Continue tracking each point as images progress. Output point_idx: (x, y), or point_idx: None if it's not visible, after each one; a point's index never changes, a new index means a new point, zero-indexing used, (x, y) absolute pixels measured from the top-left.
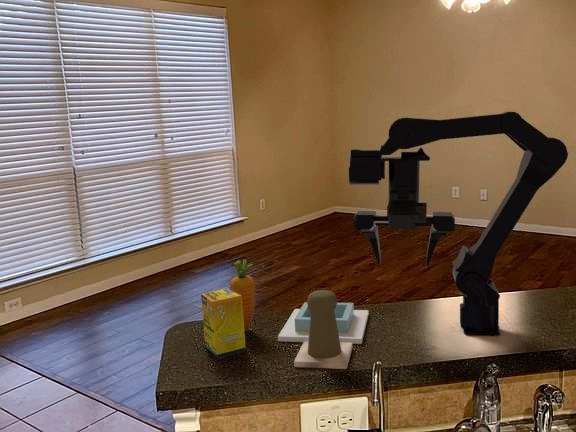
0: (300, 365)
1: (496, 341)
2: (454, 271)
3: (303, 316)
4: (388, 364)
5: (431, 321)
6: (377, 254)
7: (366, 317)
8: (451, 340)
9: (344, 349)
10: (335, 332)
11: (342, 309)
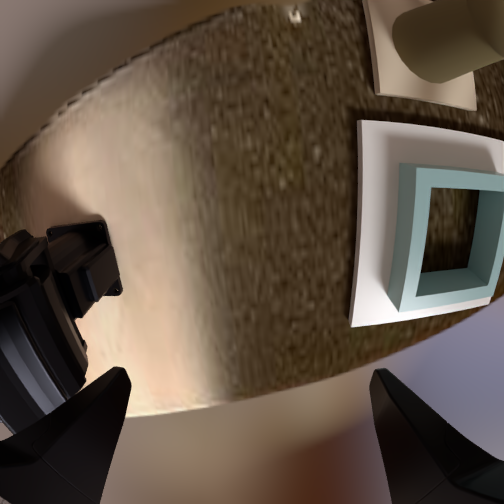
0: None
1: (51, 197)
2: (56, 355)
3: (499, 212)
4: (269, 10)
5: (190, 297)
6: (408, 402)
7: (357, 279)
8: (128, 180)
9: (389, 52)
10: (426, 12)
11: (420, 288)
